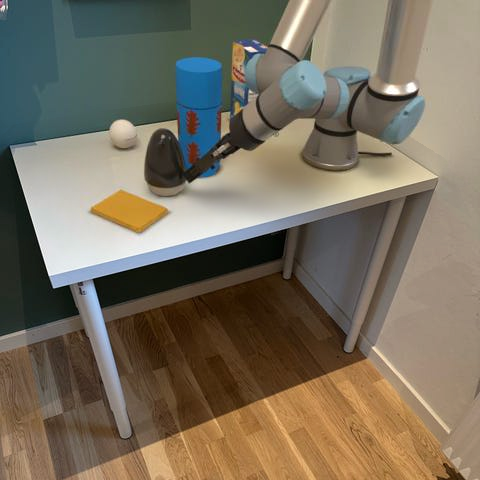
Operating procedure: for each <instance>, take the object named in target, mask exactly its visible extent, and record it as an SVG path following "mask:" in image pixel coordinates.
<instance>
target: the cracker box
mask: <svg viewBox="0 0 480 480" xmlns="http://www.w3.org/2000/svg"><path fill="white" fill-rule="evenodd" d="M267 48H268V46H267V45H265V44H263V43H262V42H260V41H259V40H257V39H255V38H251V39H241V40H233V41H232V59H231V60H232V63H231V82H230V83H231V86H230V112H229V114H230V115H229V117H230V118H229V121H230V120H231V118H232V117H233V116H235V115H236V114H237V113H238V112H239V111H240V110H242V109H243V108H244V107H245V106H246V105H247V104H248V103H249V102H251V101H252V100H253V99H254V98H255V97H256V96H258V94H256V93H254V92H252V91H250V90H249V88H248V87H247V85H246V83H245V69H246V66H247V64H248V62H249V60H251V59H252V58H253V56H254V55H256V54H265V53H266V51H267Z"/></svg>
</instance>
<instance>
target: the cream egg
mask: <svg viewBox="0 0 480 480" xmlns="http://www.w3.org/2000/svg"><path fill="white" fill-rule="evenodd" d="M108 131H109V133H108V134H109V138H110V141H111V142H112V144H114V145H115V146H116V147H117V148H119V149H128V148H131V147H132V146H134V144H135V143H136V141H137V139H138V133H137V129H136V127H135V126H134V124H133V123H132V122H130V121H129V120H127V119H117V120H115V121H113V122H112V124H111V125H110V127H109V130H108Z"/></svg>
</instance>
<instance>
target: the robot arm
mask: <svg viewBox="0 0 480 480" xmlns="http://www.w3.org/2000/svg"><path fill="white" fill-rule="evenodd" d="M433 1H434V0H388V3H387V8H386V13H385V19H384V26H383V30H382V31H383V32H382V37H381V43H380V49H379V55H378V60H377V67H376V68H377V69H376V72H375V73H374V74H373V75H371V71H370V70H369V69H368V68H366V67H362V66H355V65H353V66H351V65H345V66H336V67H332V68H331V67H330V68H329V69H327V70H325V71H324V73H323V72H322V71H321V70H320V68H319V67H318V66H317V65H316V64H313V62H312V61H310V60H306V59H304V58H305V56H306V54H307V51H308V50H309V48H310V46H311V43H312V41H313V39H314V37H315V35H316V34H317V31H318V30H319V27H320V25H321V23H322V21H323V18H324V17H325V14H326V13H327V10H328V8H329V7H330V4H331V2H332V0H288V3H287V5H286V8H285V10H284V11H283V14H282V16H281V18H280V20H279V22H278V25H277V27H276V29H275V31H274V33H273V36H272V38H271V41H269V42H270V43H269V44H268V46H267V47H268V48H267V51H266V53H265V54H256V55H254V56H253V58H252V59H251V60H249V62H248V64H247V66H246V69H245V83H246V85H247V87H248V88H249V90H250V91H252V92H254V93H256V94H258V96H256V97H255V98H254V99H253V100H252V101H251V102H249V103H248V104H247V105H246V106H245V107H244V108H243V109H242V110H240V111H239V112H238V113H237V114H236V115H235V116H233V117H232V118H231V120H230V119H229V123H228V130H229V131H228V132H227V133H225V134H224V135H223V136H221V140H220V141H219V142H218V143H216V144H215V147H212V148H211V150H210V151H209V152H208V153H206V154H205V155H204V156H203V157H202V158H201V159H200V158H199V157H198V158H196V159H195V160H196V162H195V163H194V165H193V166H191V167H190V168H189V169H188V170H186V171H185V172H184V173H183V176H184V177H185V179H186V182H187V183H188V184H191V183H193V182H194V181H196V180H197V179H198V178H200V177H199V176H200V175H202V174H203V173H204V172H206V171H207V170H208V169H209V167H210V168H211V170H213V169H214V168H215V166H214V164H215V163H217V162H219V161H220V162H221V160H225V159H227V158H228V157H230V156H231V155H234V154H235V153H236V152H238V151H240V150H241V149H242V150H244V151H245V152H247V151H248V152H251V151H255V150H256V149H257V148H258V147H260V146H261V145H263V144H264V143H265V142H266V141H267V140H269V139H270V138H272V137H274V138H278V137H279V136H280V133H279V132H280V131H282V130H283V129H285V128H286V127H288V126H289V125H290V124H291V123H293V122H294V121H296V120H298V119H299V120H300V119H301V120H302V119H303V120H306V119H307V120H310V119H311V120H314V123H313V128H312V130H311V132H310V134H309V135H308V138H307V140H306V142H305V144H304V146H303V151H302V158H303V160H304V161H305V162H306V163H307V164H309V165H310V166H312V167H315V168H317V169H320V170H325V171H330V172H331V171H332V172H339V171H346V170H349V169H352V168H354V167H355V166H356V165H357V164H358V163H357V162H358V160H359V155H362V156H373V157H386V156H392V155H393V152H373V151H371V152H370V151H359V148H358V146H359V145H358V135H357V134H358V132H359V133H361V134H363V135H366V136H369V137H371V138H374V139H376V140H379V141H380V142H381V143H386V144H389V145H393V146H396V145H400V144H402V143H403V142H405V140H407V139H408V138H409V137H410V136H411V134H412V133H413V132H414V130H415V129H416V127H418V124H419V122H420V120H421V119H422V116H423V114H424V112H425V108H426V99H425V98H424V97H423V96H422V95H419V91H420V87H421V83H420V82H421V81H420V80H419V78H418V77H417V76H416V75H417V74H416V73H417V70H418V65H419V61H420V57H421V53H422V48H423V45H424V39H425V35H426V31H427V26H428V23H429V19H430V14H431V9H432V6H433Z"/></svg>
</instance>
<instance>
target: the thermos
mask: <svg viewBox="0 0 480 480" xmlns="http://www.w3.org/2000/svg"><path fill="white" fill-rule="evenodd" d="M174 72H175V73H174V74H175V75H174V76H175V77H174V78H175V96H176V97H175V98H176V99H175V101H176V121H177V140H178V142H179V144H180V147H181V150H182V153H183V156H184V159H185V164H186V169H187V170H188V169H189V168H190V167H191V166H193V165H194V163H195V162H196V160H195V159H196V158H198V157H199V158H200V159H201V158H202V157H203V156H204V155H205V154H206V153H208V152H209V151H210V150H211V148H212V147H215V144H216V143H218V142H219V141H220V140H221V138H222V112H223V111H222V110H223V107H222V106H223V105H222V104H223V66H222V63H221V62H219V60H215V59H213V58H208V57H198V56H197V57H186V58H181V59H179V60H178V61H176V62H175V71H174ZM220 165H221V160H220V161H219V162H217V163H215V164H214V166H215V168H214V169H213V170H211V168H210V167H209V169H208V170H207V171H206V172H204V173H203V174H202V175H200V176H199V177H198V178H208V177H212V176H214V175H216V174H218V173H219V171H220V167H221V166H220Z"/></svg>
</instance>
